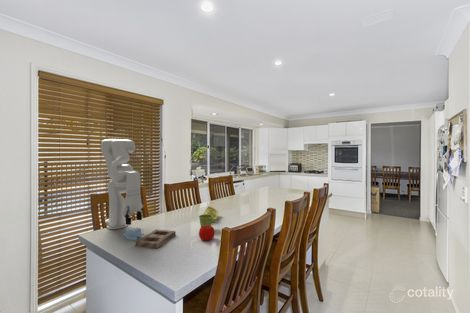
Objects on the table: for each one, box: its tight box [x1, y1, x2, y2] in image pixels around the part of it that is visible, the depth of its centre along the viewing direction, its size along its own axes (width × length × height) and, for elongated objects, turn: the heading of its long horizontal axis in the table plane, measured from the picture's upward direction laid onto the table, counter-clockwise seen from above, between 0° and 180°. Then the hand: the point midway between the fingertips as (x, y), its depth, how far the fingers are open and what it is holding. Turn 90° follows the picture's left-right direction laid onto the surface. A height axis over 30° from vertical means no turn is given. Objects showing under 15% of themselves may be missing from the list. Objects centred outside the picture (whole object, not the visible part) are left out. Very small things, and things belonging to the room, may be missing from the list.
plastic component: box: [202, 206, 219, 224], centre depth 175 cm, size 20×7×10 cm
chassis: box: [134, 229, 177, 250], centre depth 133 cm, size 13×20×3 cm, turn 167°
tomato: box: [198, 225, 216, 242], centre depth 135 cm, size 9×9×8 cm
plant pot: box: [198, 213, 213, 228], centre depth 152 cm, size 9×9×9 cm
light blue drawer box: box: [122, 227, 145, 241], centre depth 137 cm, size 11×4×6 cm, turn 77°
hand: (133, 222), depth 136 cm, fingers open, 9 cm apart
